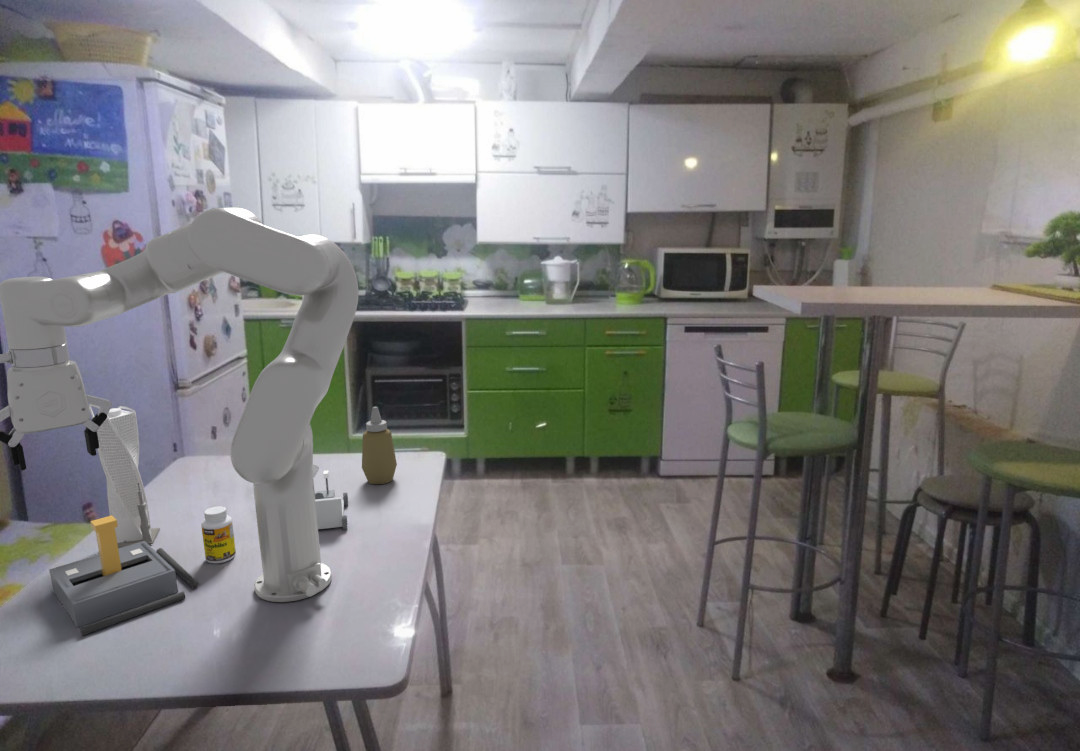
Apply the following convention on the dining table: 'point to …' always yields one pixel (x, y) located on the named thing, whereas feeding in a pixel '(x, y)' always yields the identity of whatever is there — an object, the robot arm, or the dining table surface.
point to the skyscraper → (124, 477)
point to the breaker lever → (107, 544)
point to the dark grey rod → (178, 568)
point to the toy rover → (329, 506)
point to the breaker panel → (112, 583)
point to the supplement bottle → (218, 535)
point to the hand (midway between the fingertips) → (58, 460)
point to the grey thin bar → (132, 613)
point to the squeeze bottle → (378, 451)
